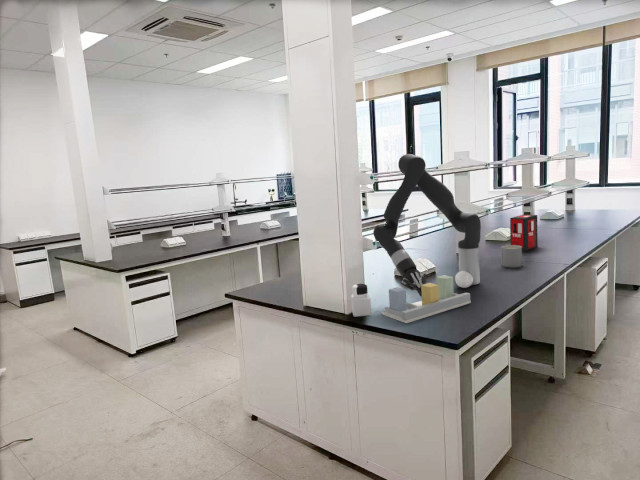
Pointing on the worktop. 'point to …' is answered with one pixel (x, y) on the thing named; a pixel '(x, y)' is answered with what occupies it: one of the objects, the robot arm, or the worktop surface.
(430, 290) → the yellow rectangular block
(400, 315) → the white divided tray
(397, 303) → the blue-grey block
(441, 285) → the pale green block
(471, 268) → the robot arm
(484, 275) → the worktop surface
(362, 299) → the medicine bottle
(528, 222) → the cleaning product box
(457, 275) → the crumpled paper ball
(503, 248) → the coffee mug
